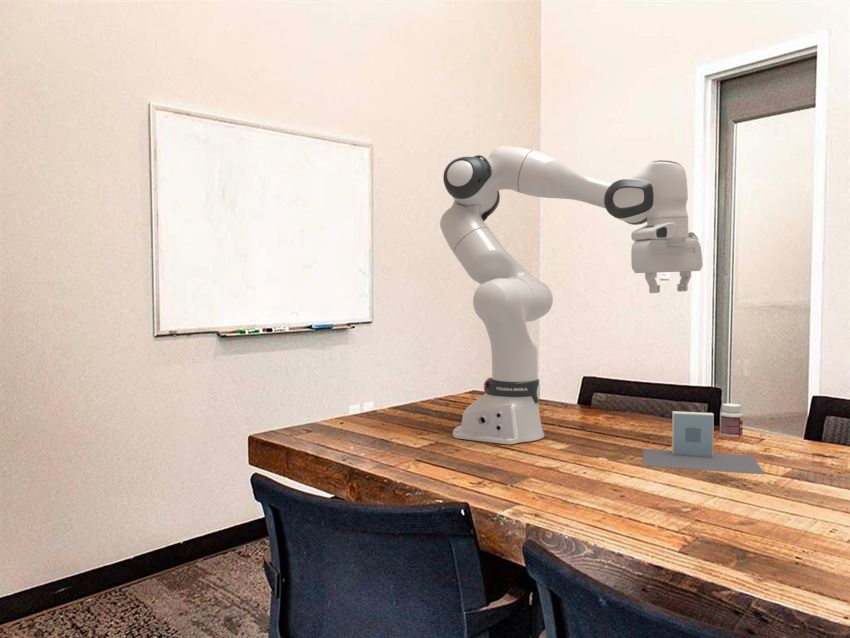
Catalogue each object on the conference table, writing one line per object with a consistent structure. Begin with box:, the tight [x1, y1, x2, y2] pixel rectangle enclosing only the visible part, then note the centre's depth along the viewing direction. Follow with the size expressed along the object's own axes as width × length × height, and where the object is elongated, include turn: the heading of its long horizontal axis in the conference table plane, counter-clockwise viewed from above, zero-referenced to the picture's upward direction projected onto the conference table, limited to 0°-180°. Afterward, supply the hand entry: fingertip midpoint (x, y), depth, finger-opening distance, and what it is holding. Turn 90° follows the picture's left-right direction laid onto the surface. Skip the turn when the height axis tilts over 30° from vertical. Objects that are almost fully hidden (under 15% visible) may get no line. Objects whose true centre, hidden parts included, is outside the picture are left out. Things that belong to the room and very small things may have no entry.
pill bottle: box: [719, 403, 744, 441], centre depth 153 cm, size 5×5×8 cm
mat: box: [642, 448, 765, 476], centre depth 134 cm, size 22×14×1 cm, turn 72°
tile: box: [671, 410, 715, 457], centre depth 138 cm, size 8×2×9 cm, turn 72°
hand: (668, 292), depth 149 cm, fingers open, 8 cm apart
